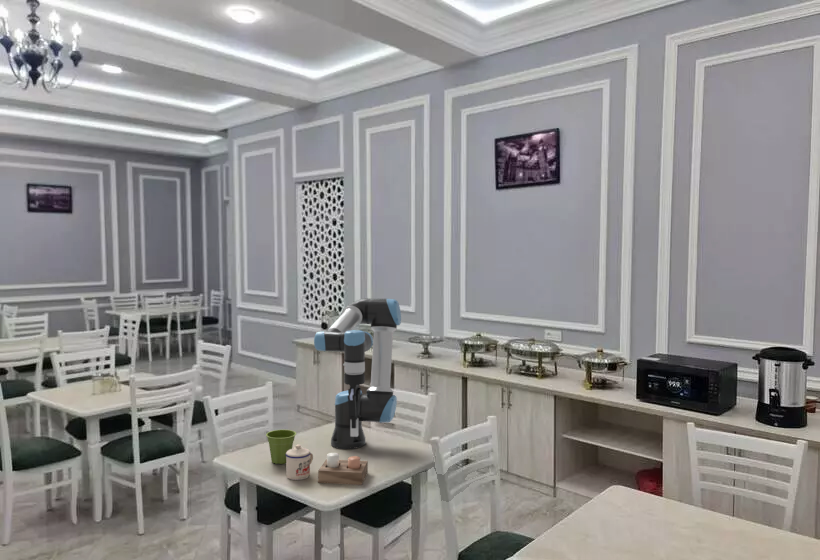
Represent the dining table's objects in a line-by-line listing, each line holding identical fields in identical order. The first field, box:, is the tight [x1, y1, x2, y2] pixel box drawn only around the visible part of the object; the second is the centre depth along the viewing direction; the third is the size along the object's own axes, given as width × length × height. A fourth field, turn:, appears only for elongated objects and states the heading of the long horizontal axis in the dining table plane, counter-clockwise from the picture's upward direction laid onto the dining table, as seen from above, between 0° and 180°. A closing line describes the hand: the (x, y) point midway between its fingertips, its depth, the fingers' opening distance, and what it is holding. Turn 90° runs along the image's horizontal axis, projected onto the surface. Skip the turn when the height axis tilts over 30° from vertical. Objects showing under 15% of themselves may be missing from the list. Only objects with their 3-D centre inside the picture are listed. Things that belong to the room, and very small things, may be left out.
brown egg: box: [347, 455, 361, 469], centre depth 212 cm, size 4×4×6 cm
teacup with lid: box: [285, 444, 314, 481], centre depth 216 cm, size 12×9×12 cm
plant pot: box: [265, 429, 297, 465], centre depth 230 cm, size 12×12×11 cm
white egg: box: [326, 452, 340, 468], centre depth 213 cm, size 4×4×6 cm
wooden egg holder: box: [317, 458, 369, 486], centre depth 213 cm, size 12×16×4 cm
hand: (354, 435), depth 212 cm, fingers closed
